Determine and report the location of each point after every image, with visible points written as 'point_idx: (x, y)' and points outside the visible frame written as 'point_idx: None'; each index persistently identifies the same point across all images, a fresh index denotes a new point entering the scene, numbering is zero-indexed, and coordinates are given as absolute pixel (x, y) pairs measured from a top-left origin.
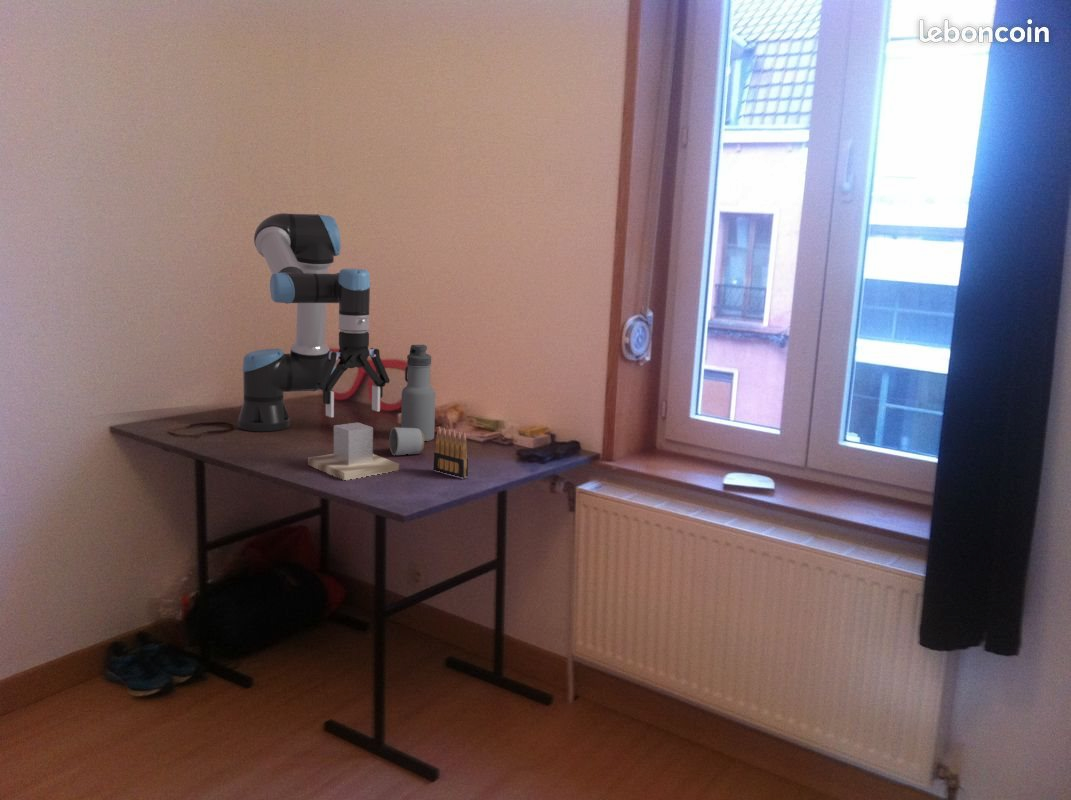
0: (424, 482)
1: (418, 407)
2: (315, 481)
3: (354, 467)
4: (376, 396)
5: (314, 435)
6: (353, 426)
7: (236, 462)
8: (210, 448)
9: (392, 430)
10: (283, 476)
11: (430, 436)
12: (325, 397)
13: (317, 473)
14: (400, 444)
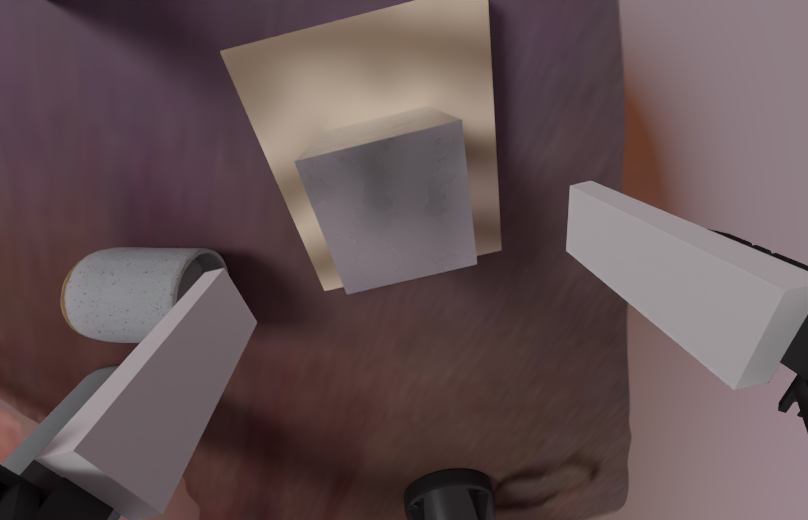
0: None
1: None
2: (566, 35)
3: (416, 64)
4: (173, 360)
5: (382, 442)
6: (395, 219)
7: (620, 307)
8: (597, 401)
9: None
10: (611, 144)
11: (85, 378)
12: (783, 260)
13: (512, 141)
14: (183, 254)
